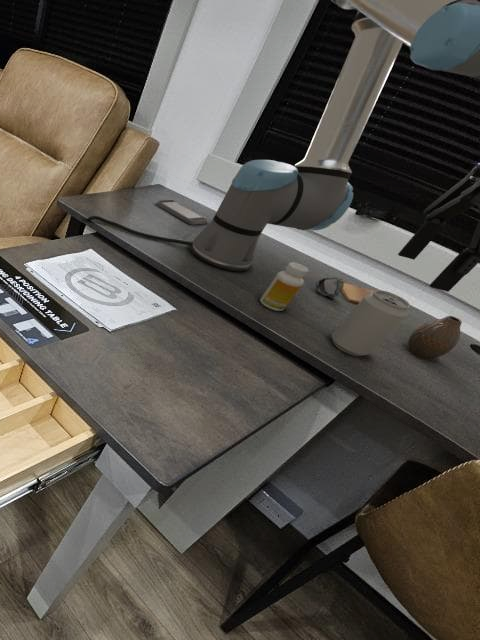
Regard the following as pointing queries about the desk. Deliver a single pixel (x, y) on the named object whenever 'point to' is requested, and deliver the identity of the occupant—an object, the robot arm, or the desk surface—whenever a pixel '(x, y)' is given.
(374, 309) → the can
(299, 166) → the robot arm
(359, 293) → the coaster
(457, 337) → the vase
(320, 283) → the wristwatch
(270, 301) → the supplement bottle
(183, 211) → the smartphone
